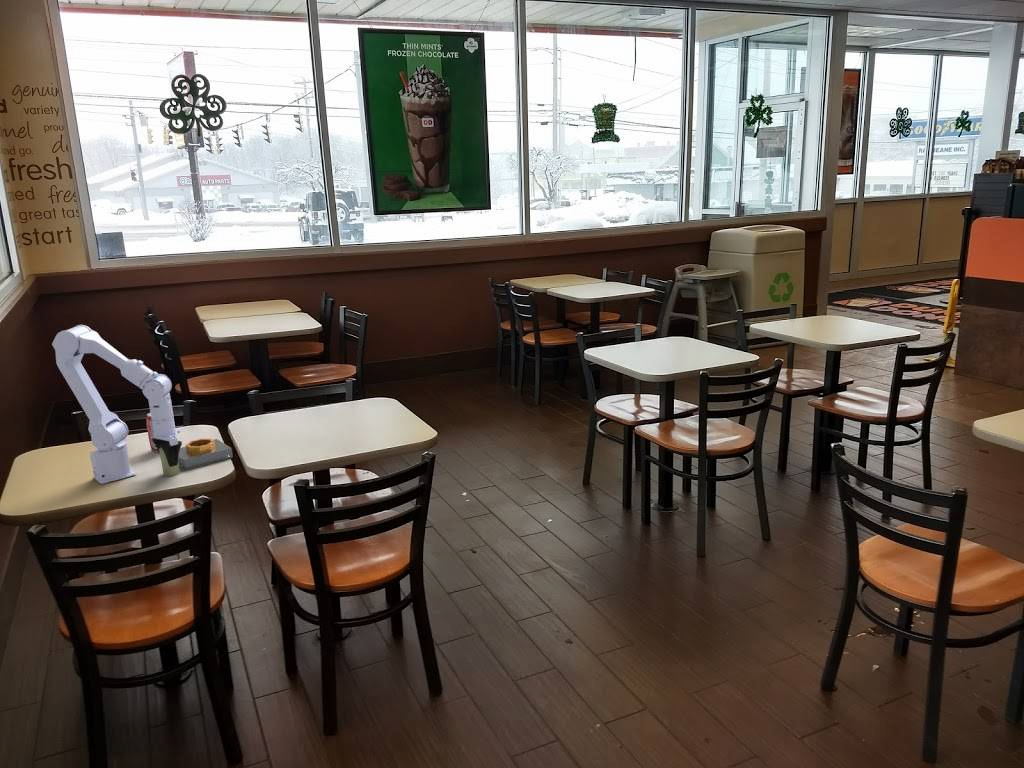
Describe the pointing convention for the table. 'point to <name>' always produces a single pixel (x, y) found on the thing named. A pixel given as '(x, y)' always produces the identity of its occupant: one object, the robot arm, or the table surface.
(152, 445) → the soda can
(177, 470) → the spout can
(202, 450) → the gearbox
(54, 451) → the table surface
